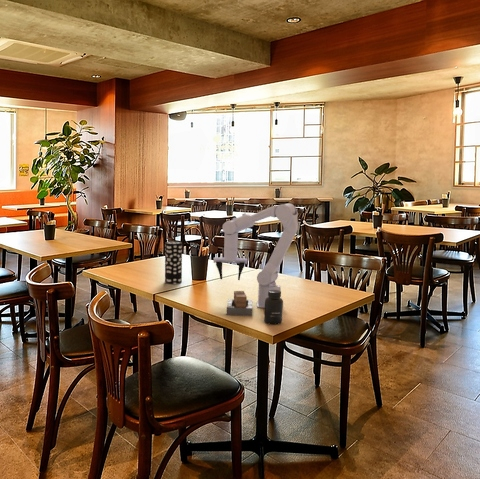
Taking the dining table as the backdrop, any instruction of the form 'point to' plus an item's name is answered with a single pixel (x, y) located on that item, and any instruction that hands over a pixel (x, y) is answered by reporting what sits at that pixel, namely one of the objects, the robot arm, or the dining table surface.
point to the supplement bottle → (273, 308)
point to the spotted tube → (173, 262)
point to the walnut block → (240, 299)
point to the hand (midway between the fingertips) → (230, 279)
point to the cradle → (239, 308)
